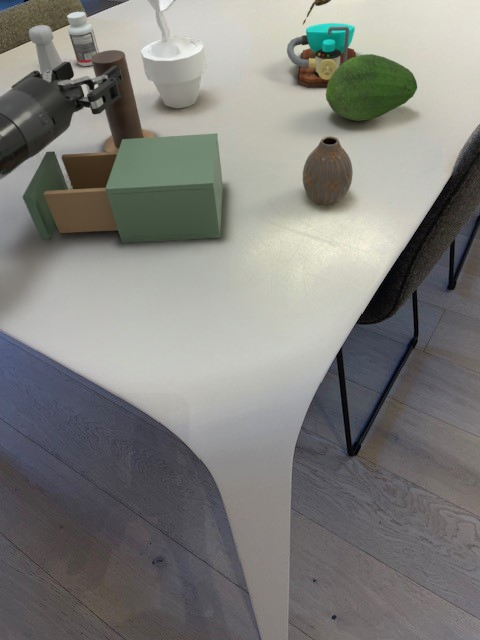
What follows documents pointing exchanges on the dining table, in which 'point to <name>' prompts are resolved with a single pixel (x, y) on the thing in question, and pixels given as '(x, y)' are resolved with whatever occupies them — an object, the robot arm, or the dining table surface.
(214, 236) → the cabinet
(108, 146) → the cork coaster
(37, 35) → the salt shaker
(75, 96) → the robot arm
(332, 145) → the vase
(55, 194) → the drawer
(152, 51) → the potted plant
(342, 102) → the fruit
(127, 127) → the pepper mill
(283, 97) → the dining table surface
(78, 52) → the pill bottle
